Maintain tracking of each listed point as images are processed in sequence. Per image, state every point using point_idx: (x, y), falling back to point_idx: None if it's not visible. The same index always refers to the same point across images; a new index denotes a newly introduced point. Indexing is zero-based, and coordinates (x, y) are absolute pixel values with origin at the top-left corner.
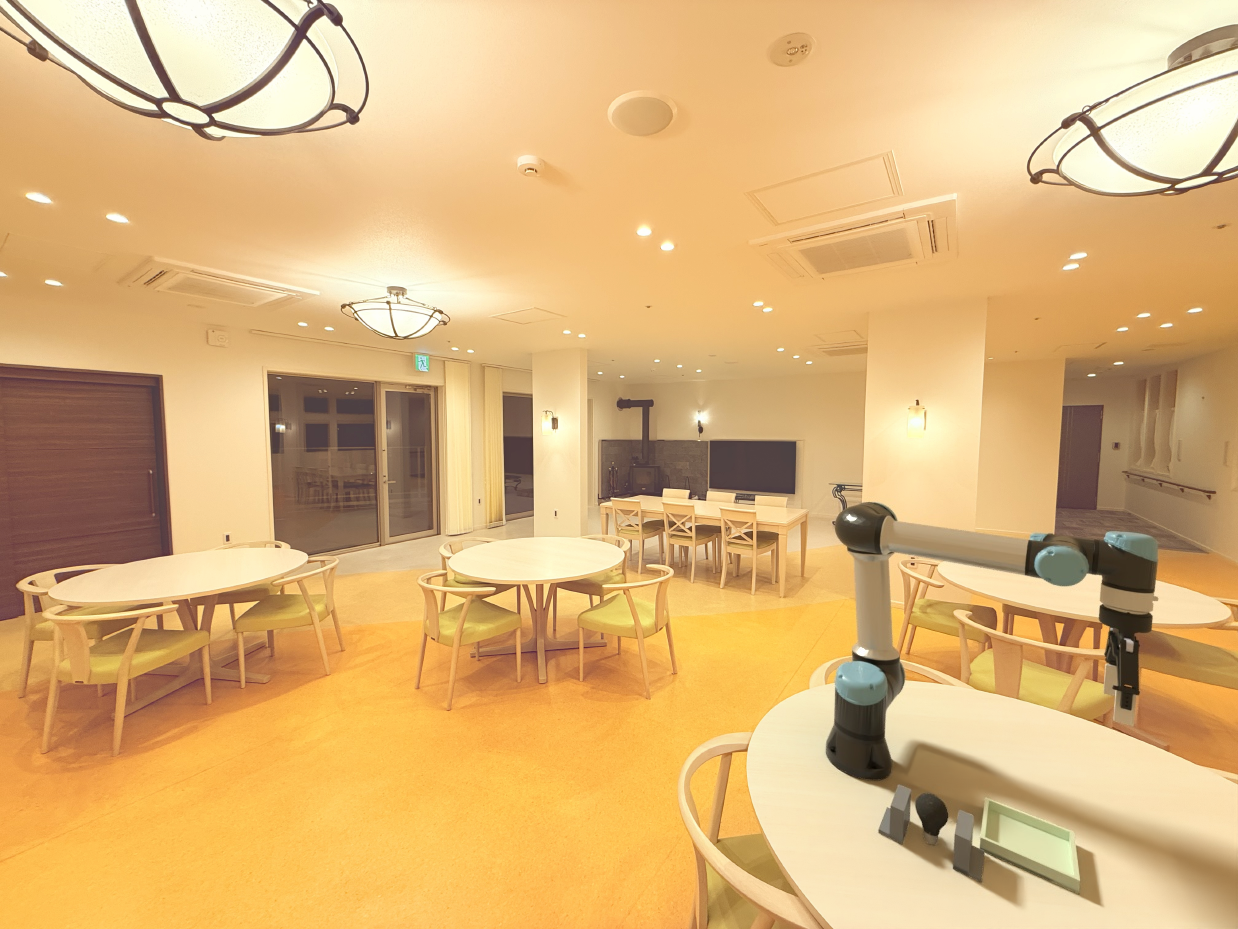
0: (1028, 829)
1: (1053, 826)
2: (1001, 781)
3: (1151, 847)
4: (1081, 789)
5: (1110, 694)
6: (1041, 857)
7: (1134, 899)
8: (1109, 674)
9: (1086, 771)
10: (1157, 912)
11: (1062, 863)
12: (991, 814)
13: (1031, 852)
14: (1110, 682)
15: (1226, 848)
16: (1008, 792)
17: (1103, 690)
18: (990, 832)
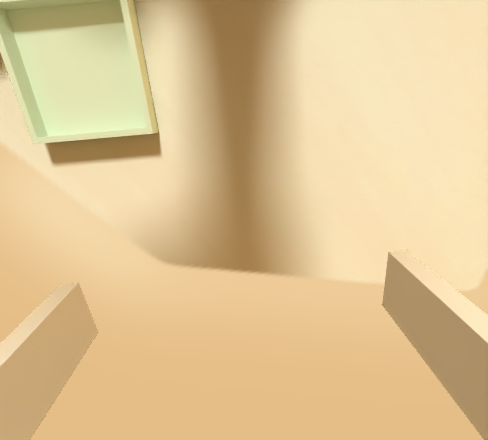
0: (126, 71)
1: (142, 105)
2: (257, 10)
3: (240, 213)
4: (334, 138)
5: (388, 275)
6: (69, 95)
7: (105, 194)
8: (479, 357)
9: (404, 143)
10: (104, 212)
11: (84, 121)
12: (112, 7)
13: (67, 81)
14: (431, 318)
15: (307, 276)
16: (227, 28)
17: (407, 256)
18: (55, 14)
